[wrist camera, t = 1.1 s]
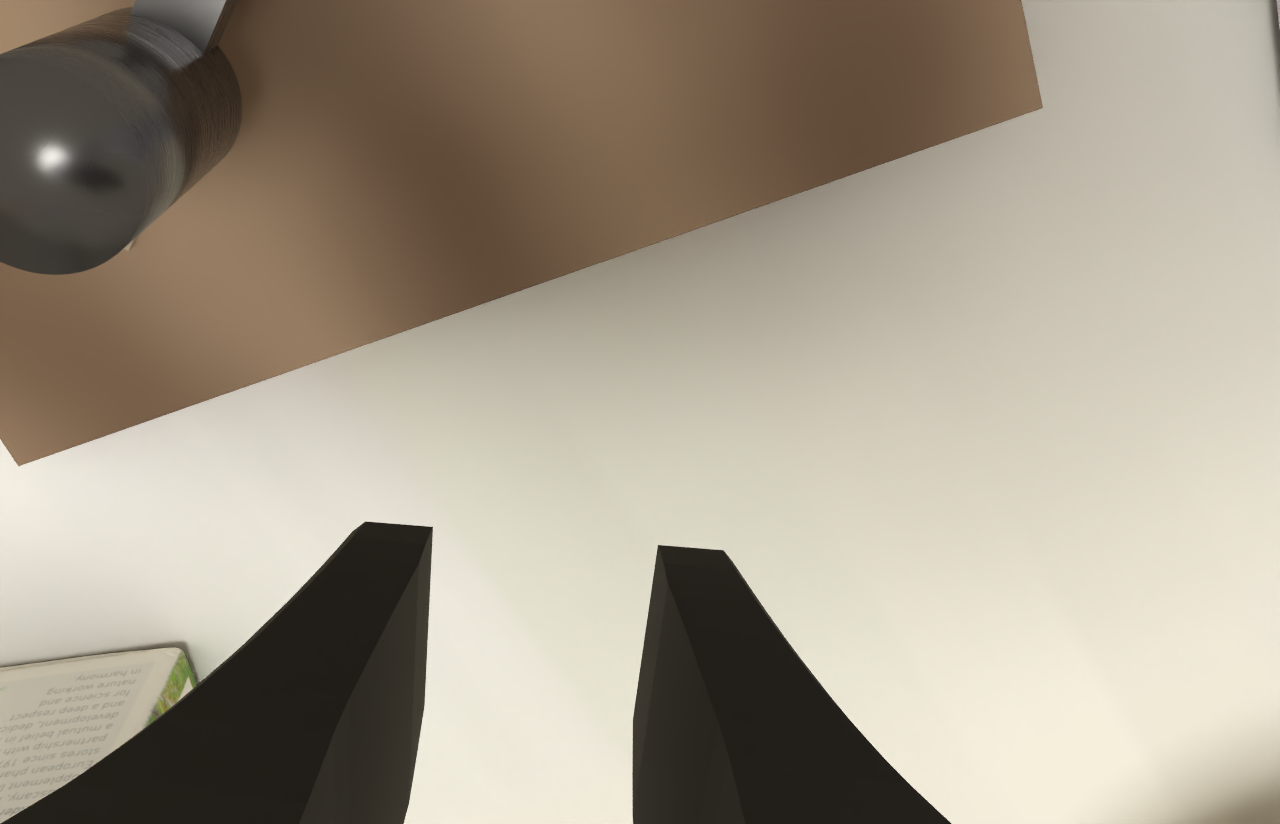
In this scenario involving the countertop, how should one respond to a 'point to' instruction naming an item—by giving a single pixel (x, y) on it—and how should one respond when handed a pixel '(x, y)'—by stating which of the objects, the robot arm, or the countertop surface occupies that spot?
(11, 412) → the plate
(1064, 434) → the countertop surface
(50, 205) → the dial
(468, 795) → the countertop surface
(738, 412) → the countertop surface
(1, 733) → the syrup box
